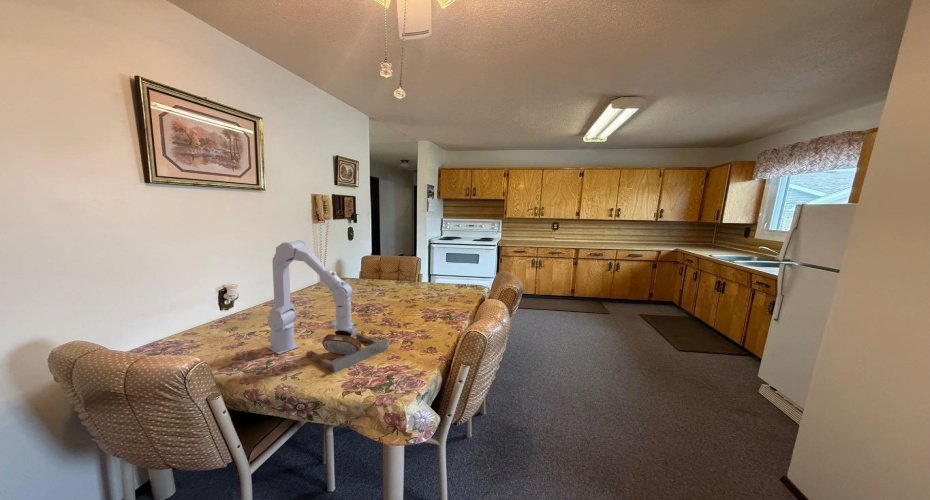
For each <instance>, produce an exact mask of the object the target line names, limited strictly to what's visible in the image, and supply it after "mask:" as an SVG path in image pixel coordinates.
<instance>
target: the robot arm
mask: <svg viewBox="0 0 930 500" xmlns="http://www.w3.org/2000/svg"><path fill="white" fill-rule="evenodd" d="M293 261H295V262H296V261H297V262H298V261H299V262H304V264H306V265H307V266H308V267H309V268H310V269H312V270H313V271H314V272H315V273H316V274H317V275H318V276H319V281H320V282H321V283H322V284H323V285H324V286H325V287H326V288H327V289H328V290H329V291H330V292H331V297H332V298H333V300H334V303H335V304H334V306H335V307H334V308H335V321H331V327H332V328H335V331H334V335H343V336H351V337H352V336H356V334H358V329H357V328H356V327H355V326H354V325H355V323H354V322H352V295H353V293H354V288H353V286H352V285H351V284H350V283H349V282H346V281H344V280H342V279H341V278H340V277H339V276H338V275H337V273H338V272H336V270H333V269H328V268H326V266H324V264H323V263H322V262H321V261H320V260H319V259H318V257H317V256H316V255H315V254H314V253H313V252H312V249H311V247H310V246H309V245H307V243H306V242H305V241H304V240H295V241H287V242H286V241H285V242H282V243H280V244H279V245H277V246H276V247H275V254H274V255H273V258H272V261H271V262H272V278H273V279H272V281H273V301H274V302H273V303H274V304H273V305H272V308H271V309H270V310H269V314H268V315H269V316H268V318H267V325H268V327H269V328H270V330H269V341H270V345H269V346H268V347H267V348H268V349H269V350H271V351H273V352H274V353H275V354H277V355H280V354H284V353H287V352H290V351H293V350H296V349H298V348H299V347H300V346H299V345H298V344H296V343H295V328H294V327H295V326H294V324H295V321H296V320H297V317H298V314H297V311H296V308H295V305H294V304H293V303H292V301H291V283H290V282H291V281H290V264H292V262H293Z"/></svg>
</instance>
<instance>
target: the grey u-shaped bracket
mask: <svg viewBox="0 0 930 500" xmlns="http://www.w3.org/2000/svg"><path fill="white" fill-rule="evenodd" d="M355 336H356V337H355V338H356V339H357V340H358V341H361V342H364V343H365V344H368V345H367V346H363V347H361V349H359V350H357V351H354V352H352V353H349V354H347V355H342V356H340V357H337V358H334V359H332V360H329V359H327V358H325V357H324V356H323V355H320V354H318V353H316V352H314V351H313V350H308V351H306V357H307V358H309V359H310V360H312V361H313V362H316V363H317V364H318V365H320V366H322V367H324V368H325V369H326V370H327V369H328V370H329V371H330V372H333V373H335V374H336V373H337V372H340V371H342V370H344V369H346V368H349V367H351V366H353V365H356V364H358V363H360V362H362V361H364V360H366V359H369V358H370V357H373V356H376V355H378V354H380V353H383V352H385V351H387V350H388V347H389V346H388V339H386V338H384V339H381V340H378V339H375V338H373V337H370V336H367V335H366V334H362V333H360V332H359V333H358V332H357V334H355Z"/></svg>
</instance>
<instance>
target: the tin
mask: <svg viewBox="0 0 930 500" xmlns="http://www.w3.org/2000/svg"><path fill="white" fill-rule="evenodd" d="M321 344H322V346H323V348H324V350H326V351H327V352H328V353H331V354H335V355H342V356H344V355H347V354H349V353H352V352H354V351H357V350H359V349H361V348H362V343H361V342H360V340H359V339H357V338H356V337H353V336H352V335H351V336H343V335H336V334H335V333H333V334H331V333H330V334H326V336H325V337H324V338H323V340H322V342H321Z"/></svg>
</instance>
